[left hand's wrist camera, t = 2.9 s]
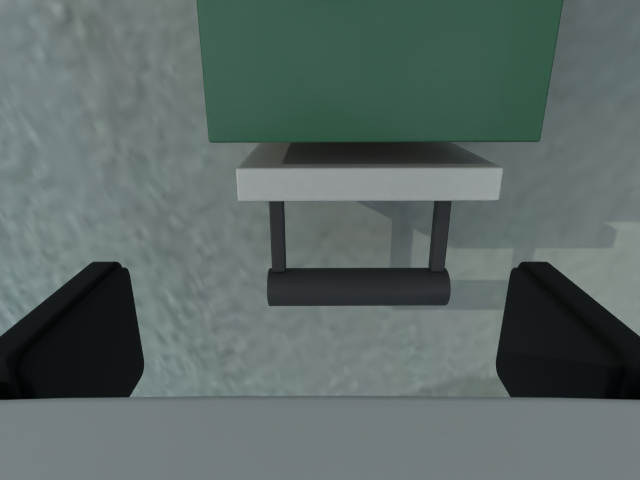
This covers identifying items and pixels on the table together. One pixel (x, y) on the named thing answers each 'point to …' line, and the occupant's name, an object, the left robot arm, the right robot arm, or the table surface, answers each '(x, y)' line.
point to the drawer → (363, 185)
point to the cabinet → (377, 69)
